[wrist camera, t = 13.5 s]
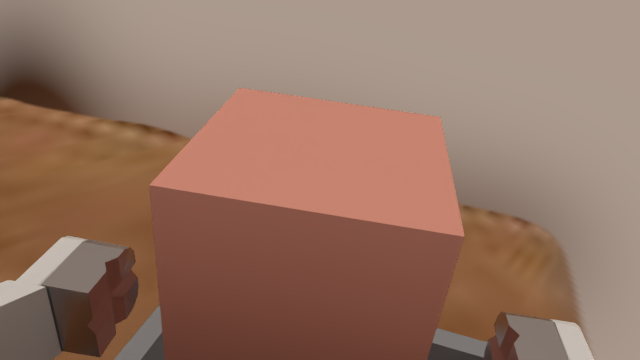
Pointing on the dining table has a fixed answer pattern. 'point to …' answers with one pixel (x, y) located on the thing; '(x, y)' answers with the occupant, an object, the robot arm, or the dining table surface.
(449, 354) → the parts tray
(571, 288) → the dining table surface
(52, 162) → the dining table surface
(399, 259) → the red post
